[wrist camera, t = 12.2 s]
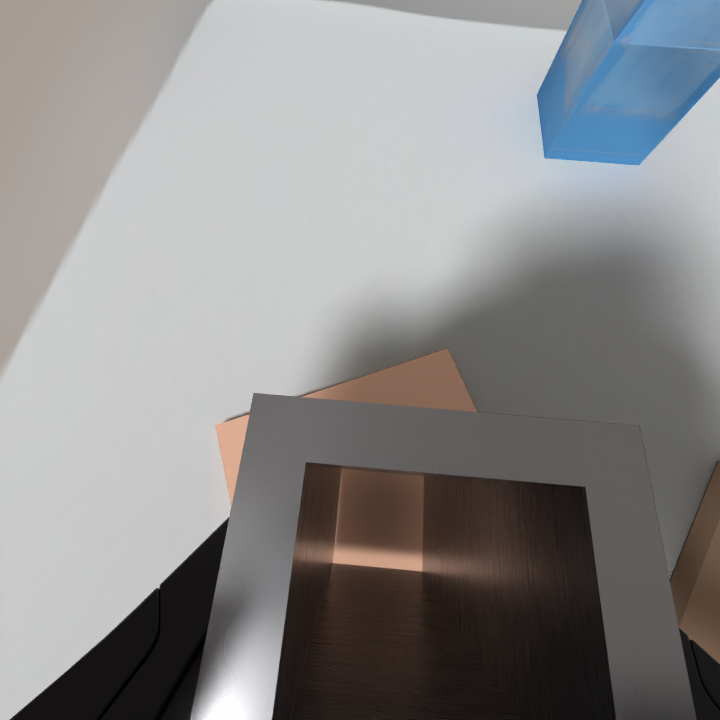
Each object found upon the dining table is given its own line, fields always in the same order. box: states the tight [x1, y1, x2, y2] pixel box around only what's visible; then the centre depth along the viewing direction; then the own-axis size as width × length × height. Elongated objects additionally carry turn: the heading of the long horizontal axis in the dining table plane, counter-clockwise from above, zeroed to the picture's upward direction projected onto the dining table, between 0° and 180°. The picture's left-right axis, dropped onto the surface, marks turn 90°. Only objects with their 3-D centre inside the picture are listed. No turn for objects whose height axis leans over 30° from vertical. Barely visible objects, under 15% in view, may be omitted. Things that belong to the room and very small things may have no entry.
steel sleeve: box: [190, 393, 697, 720], centre depth 8 cm, size 5×5×10 cm
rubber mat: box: [215, 348, 477, 571], centre depth 14 cm, size 12×12×1 cm
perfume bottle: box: [537, 0, 720, 165], centre depth 17 cm, size 6×6×12 cm
